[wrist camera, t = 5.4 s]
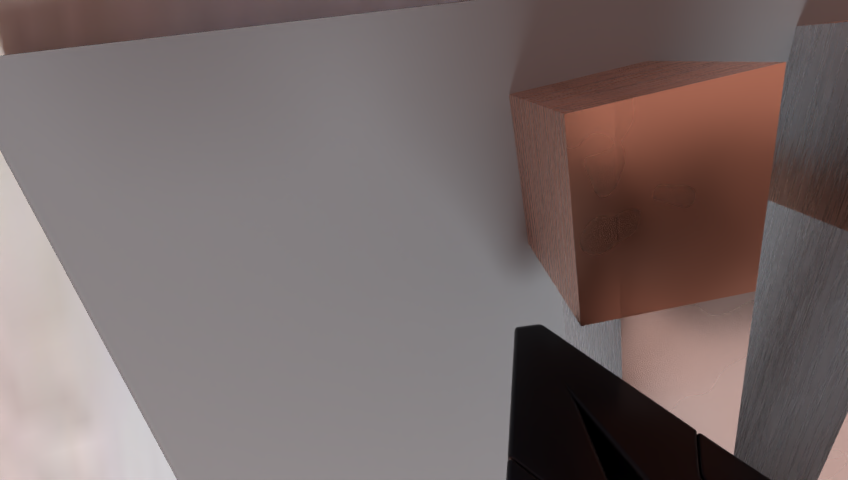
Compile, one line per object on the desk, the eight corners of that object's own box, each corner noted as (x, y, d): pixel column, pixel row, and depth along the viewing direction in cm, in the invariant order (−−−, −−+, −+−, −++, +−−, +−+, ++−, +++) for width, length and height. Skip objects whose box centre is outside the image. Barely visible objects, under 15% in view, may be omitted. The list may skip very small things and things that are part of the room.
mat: (758, 582, 17) (778, 613, 16) (281, 627, 17) (274, 660, 16) (1027, -60, 8) (1112, -75, 7) (4, 61, 8) (-48, 61, 7)
